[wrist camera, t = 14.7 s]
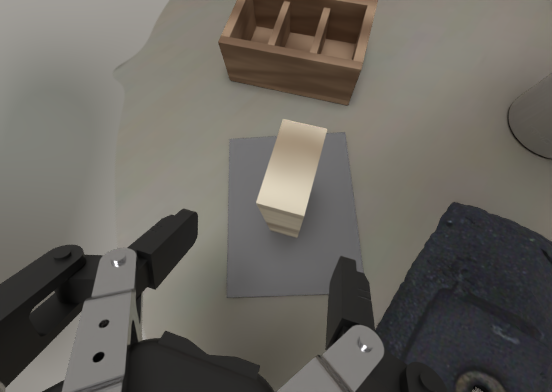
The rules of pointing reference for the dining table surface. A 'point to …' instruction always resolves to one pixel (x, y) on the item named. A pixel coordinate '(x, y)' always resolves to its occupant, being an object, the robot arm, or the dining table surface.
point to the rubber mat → (279, 247)
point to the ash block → (290, 176)
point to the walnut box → (298, 45)
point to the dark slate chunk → (477, 305)
